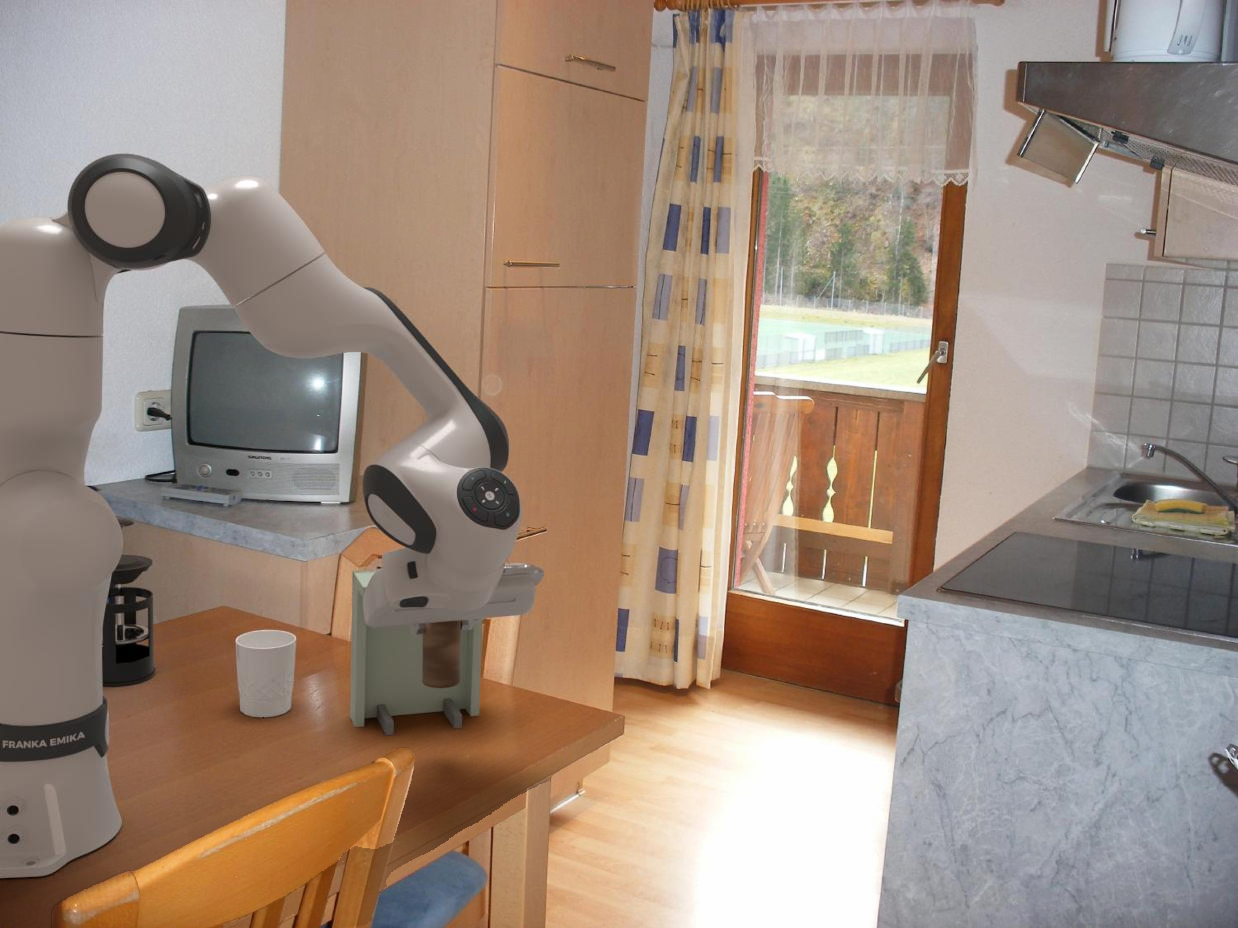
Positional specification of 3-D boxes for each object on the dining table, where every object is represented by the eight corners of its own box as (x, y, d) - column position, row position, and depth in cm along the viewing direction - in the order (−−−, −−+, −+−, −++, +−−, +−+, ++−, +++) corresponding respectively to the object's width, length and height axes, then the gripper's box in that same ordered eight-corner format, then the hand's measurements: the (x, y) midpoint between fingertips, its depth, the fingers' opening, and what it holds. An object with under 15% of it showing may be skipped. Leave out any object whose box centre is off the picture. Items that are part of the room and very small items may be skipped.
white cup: (278, 722, 156) (278, 651, 155) (224, 715, 158) (224, 644, 156) (305, 702, 164) (306, 633, 162) (253, 694, 165) (254, 626, 164)
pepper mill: (427, 689, 142) (427, 602, 140) (418, 676, 146) (419, 591, 144) (464, 685, 144) (465, 599, 142) (454, 672, 148) (455, 589, 146)
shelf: (360, 738, 153) (363, 587, 149) (350, 716, 160) (352, 570, 156) (486, 726, 159) (492, 580, 156) (471, 704, 166) (476, 565, 163)
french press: (168, 665, 175) (167, 514, 171) (148, 687, 166) (146, 529, 162) (87, 663, 174) (84, 511, 170) (62, 685, 165) (58, 526, 161)
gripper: (542, 542, 139) (516, 598, 150) (369, 553, 132) (354, 611, 142) (553, 588, 136) (526, 642, 147) (376, 602, 129) (361, 658, 139)
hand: (440, 627), depth 145 cm, fingers closed on pepper mill, 5 cm apart
